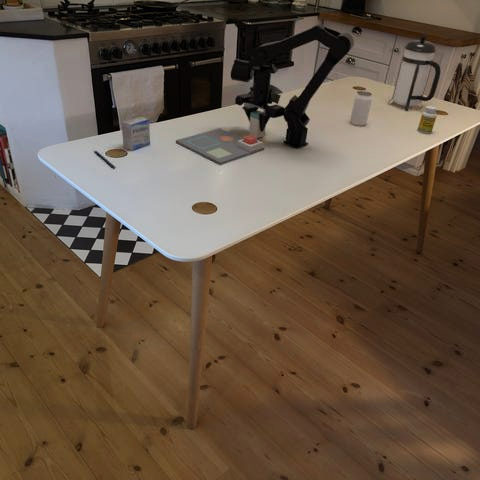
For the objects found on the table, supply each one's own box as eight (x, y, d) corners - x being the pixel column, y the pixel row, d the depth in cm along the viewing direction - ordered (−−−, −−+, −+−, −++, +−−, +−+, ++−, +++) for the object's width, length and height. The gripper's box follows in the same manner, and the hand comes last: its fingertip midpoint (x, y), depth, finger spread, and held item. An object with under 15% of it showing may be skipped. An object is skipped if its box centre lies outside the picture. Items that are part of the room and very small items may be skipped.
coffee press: (387, 109, 203) (405, 35, 186) (388, 99, 216) (405, 29, 199) (428, 115, 199) (450, 41, 183) (427, 105, 212) (447, 34, 196)
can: (365, 121, 187) (371, 91, 180) (367, 127, 181) (374, 96, 175) (349, 119, 187) (355, 90, 180) (350, 125, 182) (356, 94, 175)
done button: (256, 143, 154) (257, 138, 153) (249, 145, 152) (250, 140, 151) (249, 140, 156) (250, 135, 155) (243, 142, 154) (243, 137, 153)
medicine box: (132, 151, 147) (130, 125, 142) (123, 147, 149) (120, 121, 144) (150, 144, 152) (149, 119, 148) (141, 141, 155) (140, 115, 150)
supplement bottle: (429, 129, 184) (436, 105, 178) (433, 134, 179) (440, 110, 174) (415, 128, 184) (422, 104, 179) (418, 133, 179) (426, 108, 174)
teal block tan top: (264, 135, 165) (266, 113, 161) (257, 138, 163) (259, 115, 158) (256, 132, 167) (258, 110, 163) (248, 134, 165) (250, 112, 160)
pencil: (113, 170, 136) (92, 152, 145) (116, 169, 136) (95, 151, 146) (112, 167, 135) (92, 149, 145) (115, 166, 136) (95, 148, 145)
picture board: (264, 149, 155) (264, 142, 154) (220, 164, 143) (220, 157, 141) (219, 130, 168) (219, 123, 166) (175, 142, 155) (175, 135, 154)
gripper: (298, 88, 155) (292, 132, 163) (257, 75, 165) (254, 117, 174) (276, 93, 148) (271, 139, 157) (235, 79, 158) (232, 123, 167)
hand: (257, 129), depth 164 cm, fingers closed on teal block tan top, 4 cm apart
